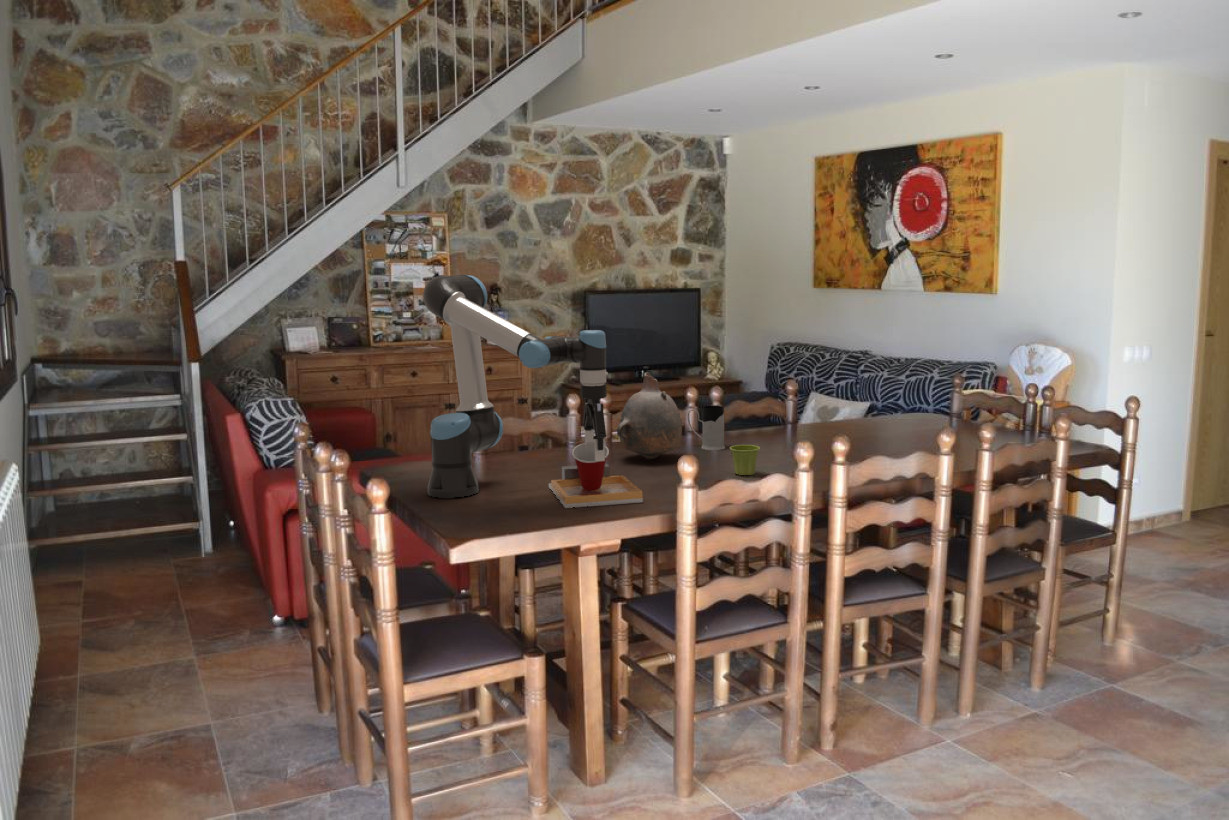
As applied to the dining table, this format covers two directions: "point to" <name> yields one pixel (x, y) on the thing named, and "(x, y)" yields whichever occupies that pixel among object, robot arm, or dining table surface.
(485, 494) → the dining table surface
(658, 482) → the dining table surface
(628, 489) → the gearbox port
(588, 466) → the plastic cup
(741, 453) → the plant pot
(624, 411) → the jug
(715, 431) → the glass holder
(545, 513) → the dining table surface
